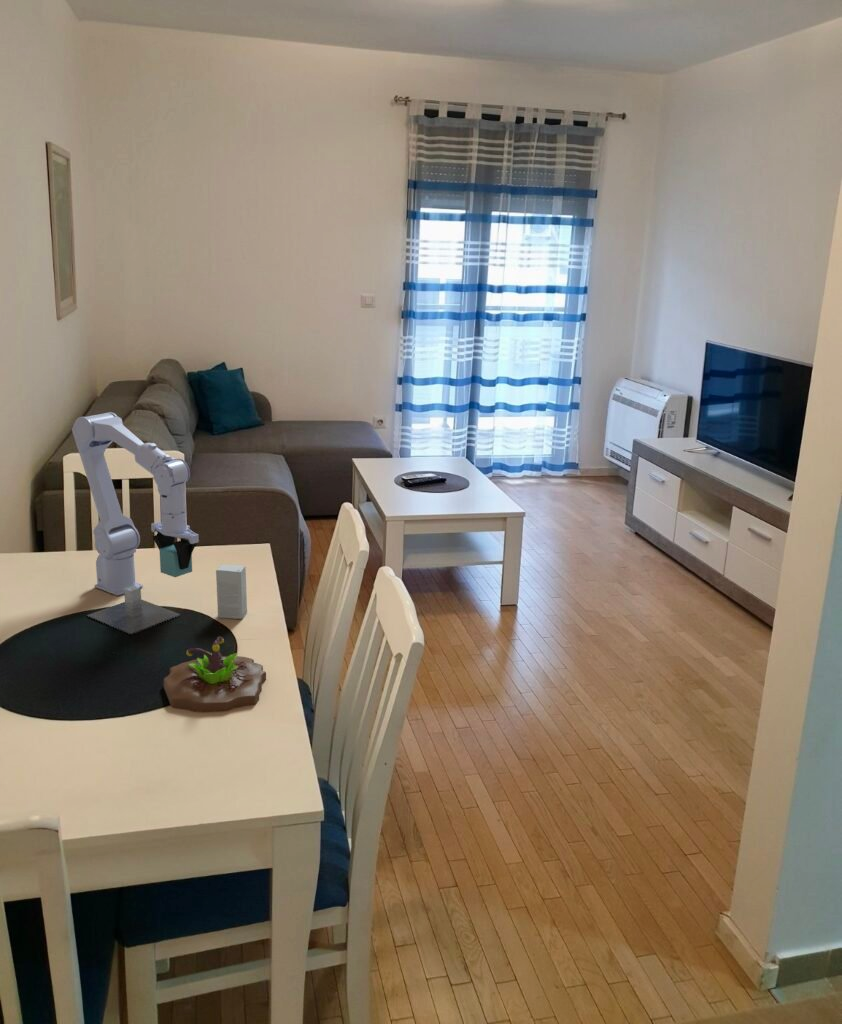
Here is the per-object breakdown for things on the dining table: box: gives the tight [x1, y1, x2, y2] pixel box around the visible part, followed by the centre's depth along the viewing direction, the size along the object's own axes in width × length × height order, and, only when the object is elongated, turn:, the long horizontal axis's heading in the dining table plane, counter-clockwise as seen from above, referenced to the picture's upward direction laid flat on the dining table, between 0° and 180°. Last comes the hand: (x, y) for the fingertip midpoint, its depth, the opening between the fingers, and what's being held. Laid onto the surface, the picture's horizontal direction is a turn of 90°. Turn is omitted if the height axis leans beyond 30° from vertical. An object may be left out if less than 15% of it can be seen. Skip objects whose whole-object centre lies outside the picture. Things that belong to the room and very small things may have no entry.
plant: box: [163, 636, 267, 713], centre depth 177 cm, size 20×20×11 cm
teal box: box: [158, 545, 193, 578], centre depth 214 cm, size 5×5×6 cm
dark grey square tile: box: [86, 586, 181, 635], centre depth 209 cm, size 16×14×7 cm
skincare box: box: [215, 564, 248, 620], centre depth 211 cm, size 6×4×12 cm
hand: (176, 565), depth 214 cm, fingers closed on teal box, 5 cm apart
